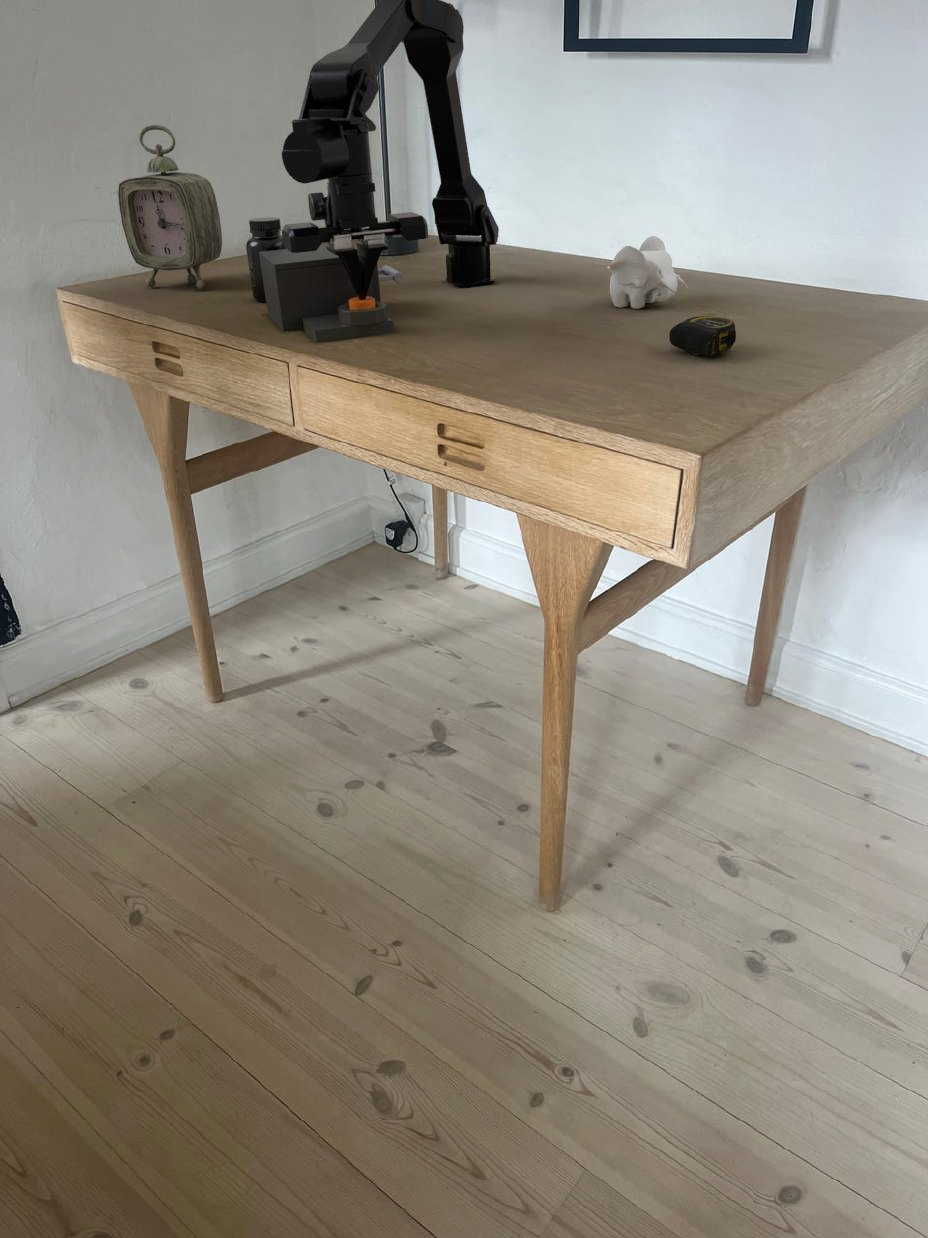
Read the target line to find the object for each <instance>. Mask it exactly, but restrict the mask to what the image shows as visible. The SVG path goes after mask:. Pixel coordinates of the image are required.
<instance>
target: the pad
mask: <svg viewBox="0 0 928 1238" xmlns="http://www.w3.org/2000/svg"><path fill="white" fill-rule="evenodd" d="M338 312H339V313H338V314H330V315H323V316H315V317H307V318H302V321H303V329H302V330H303V331H304V332H305V333H306V334H307V335H308V336H309V337H310V338H311V339H312V340H313V341H315V343H324V342H331V341H338V340H344V339H345V340H346V339H352V338H360V337H366V336H374V335H375V336H376V335H380V334H389V333H394V320H393V319H392V318H391V317H389V316H388V306H387V304H386V303H385V302H383V301H381V302H377V301H375V308H372V309H365V310H352V309H349V303H347V304H343V305H341V306H340V307H339V308H338Z"/></svg>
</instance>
